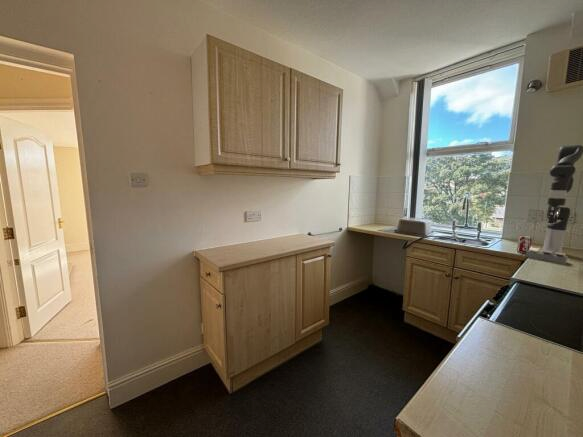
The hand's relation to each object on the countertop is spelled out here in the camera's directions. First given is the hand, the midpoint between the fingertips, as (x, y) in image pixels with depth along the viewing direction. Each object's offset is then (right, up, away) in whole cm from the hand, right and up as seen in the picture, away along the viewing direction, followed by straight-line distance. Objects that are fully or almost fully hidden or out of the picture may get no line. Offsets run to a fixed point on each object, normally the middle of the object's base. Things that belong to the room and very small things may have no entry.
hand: (552, 222), depth 155 cm
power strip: (-1, -24, +3) cm, 24 cm away
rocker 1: (-4, -18, +7) cm, 20 cm away
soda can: (-1, -22, +19) cm, 29 cm away
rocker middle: (-1, -19, +3) cm, 19 cm away
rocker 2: (+3, -20, -2) cm, 20 cm away
